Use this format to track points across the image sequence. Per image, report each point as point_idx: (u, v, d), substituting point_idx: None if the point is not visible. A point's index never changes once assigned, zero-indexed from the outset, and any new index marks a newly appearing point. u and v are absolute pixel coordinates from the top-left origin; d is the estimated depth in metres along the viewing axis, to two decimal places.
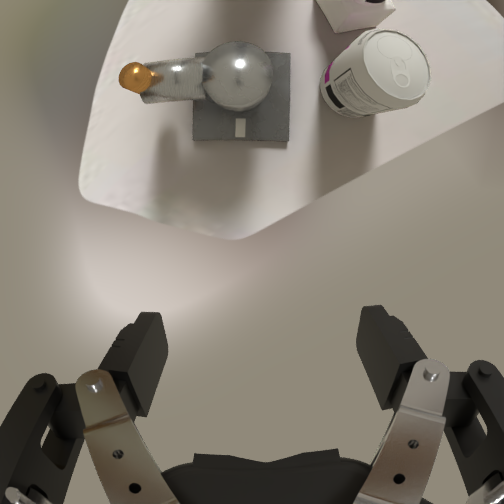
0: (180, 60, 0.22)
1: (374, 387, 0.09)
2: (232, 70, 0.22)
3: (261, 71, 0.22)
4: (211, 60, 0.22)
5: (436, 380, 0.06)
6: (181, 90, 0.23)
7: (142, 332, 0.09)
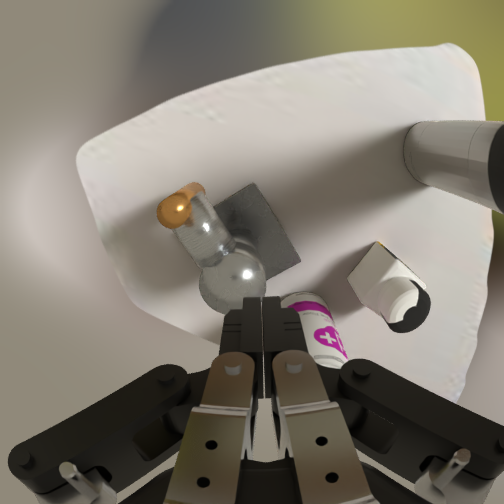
0: (216, 231, 0.27)
1: None
2: (232, 283, 0.28)
3: None
4: (230, 262, 0.27)
5: (293, 372, 0.07)
6: (190, 251, 0.27)
7: (256, 315, 0.10)
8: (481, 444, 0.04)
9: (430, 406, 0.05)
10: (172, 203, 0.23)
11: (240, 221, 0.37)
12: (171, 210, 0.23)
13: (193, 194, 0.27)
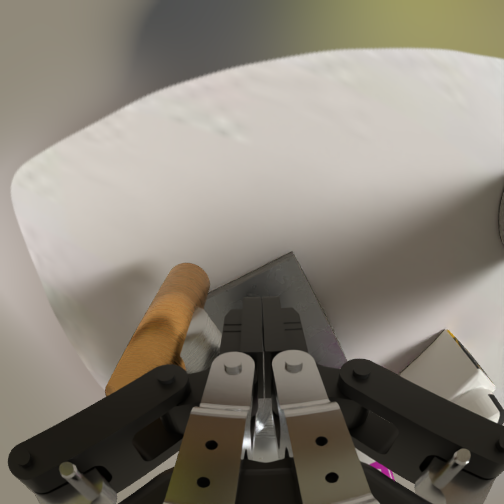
0: None
1: (264, 375, 0.10)
2: None
3: None
4: (263, 445, 0.12)
5: (293, 372, 0.07)
6: None
7: (256, 315, 0.10)
8: (481, 444, 0.04)
9: (430, 406, 0.05)
10: None
11: None
12: None
13: (187, 321, 0.12)
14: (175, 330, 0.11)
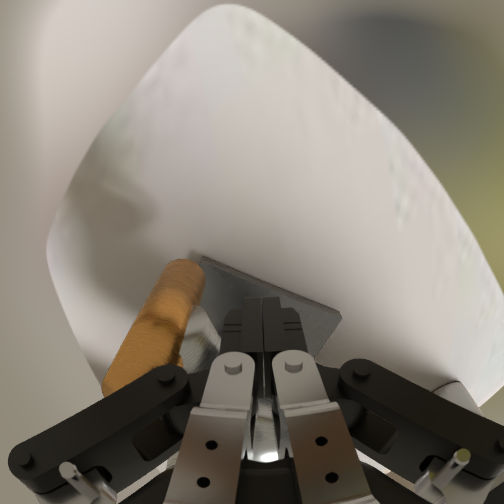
0: None
1: (264, 375, 0.10)
2: None
3: None
4: None
5: (293, 372, 0.07)
6: None
7: (257, 315, 0.10)
8: (481, 444, 0.04)
9: (430, 406, 0.05)
10: None
11: None
12: None
13: (186, 318, 0.12)
14: (175, 327, 0.11)
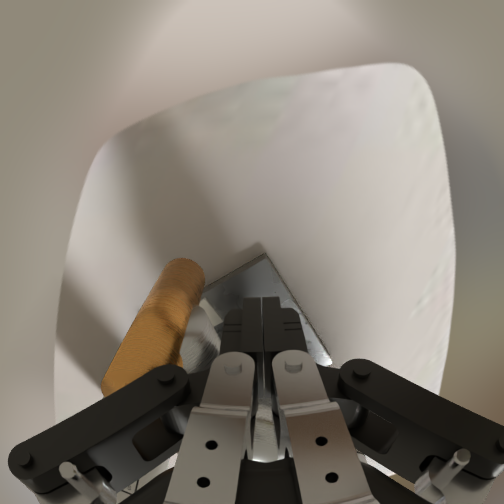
0: None
1: (264, 375, 0.10)
2: None
3: None
4: None
5: (293, 372, 0.07)
6: None
7: (257, 315, 0.10)
8: (481, 444, 0.04)
9: (430, 406, 0.05)
10: None
11: None
12: None
13: (186, 318, 0.12)
14: (175, 326, 0.11)
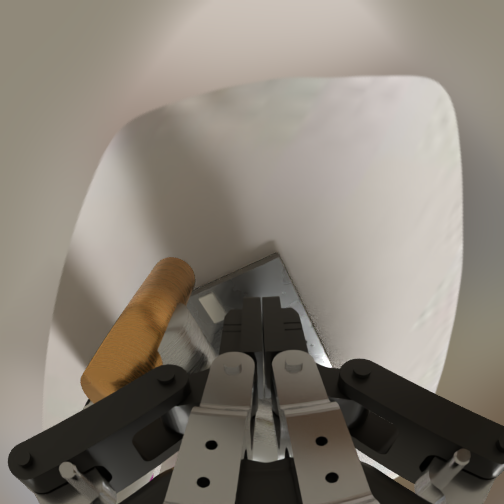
0: None
1: None
2: None
3: None
4: None
5: (293, 371, 0.07)
6: None
7: (256, 315, 0.10)
8: (481, 444, 0.04)
9: (430, 406, 0.05)
10: (113, 381, 0.08)
11: None
12: (112, 392, 0.08)
13: (168, 316, 0.12)
14: (155, 324, 0.11)
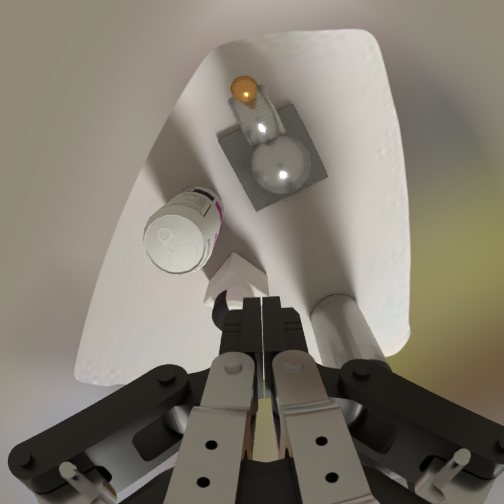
0: (274, 115, 0.29)
1: None
2: (282, 161, 0.30)
3: (290, 182, 0.31)
4: (283, 141, 0.29)
5: (293, 372, 0.07)
6: (248, 129, 0.29)
7: (256, 315, 0.10)
8: (481, 444, 0.04)
9: (430, 406, 0.05)
10: (246, 80, 0.25)
11: None
12: (244, 85, 0.25)
13: None
14: None
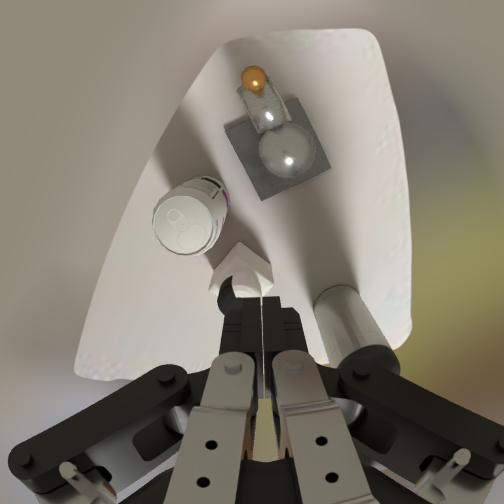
0: (281, 103, 0.30)
1: None
2: (288, 146, 0.31)
3: (296, 167, 0.32)
4: (289, 127, 0.30)
5: (293, 372, 0.07)
6: (256, 116, 0.30)
7: (256, 315, 0.10)
8: (481, 444, 0.04)
9: (430, 406, 0.05)
10: (255, 69, 0.26)
11: None
12: (254, 74, 0.27)
13: None
14: None
